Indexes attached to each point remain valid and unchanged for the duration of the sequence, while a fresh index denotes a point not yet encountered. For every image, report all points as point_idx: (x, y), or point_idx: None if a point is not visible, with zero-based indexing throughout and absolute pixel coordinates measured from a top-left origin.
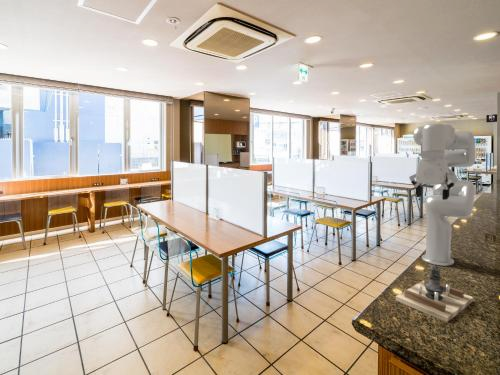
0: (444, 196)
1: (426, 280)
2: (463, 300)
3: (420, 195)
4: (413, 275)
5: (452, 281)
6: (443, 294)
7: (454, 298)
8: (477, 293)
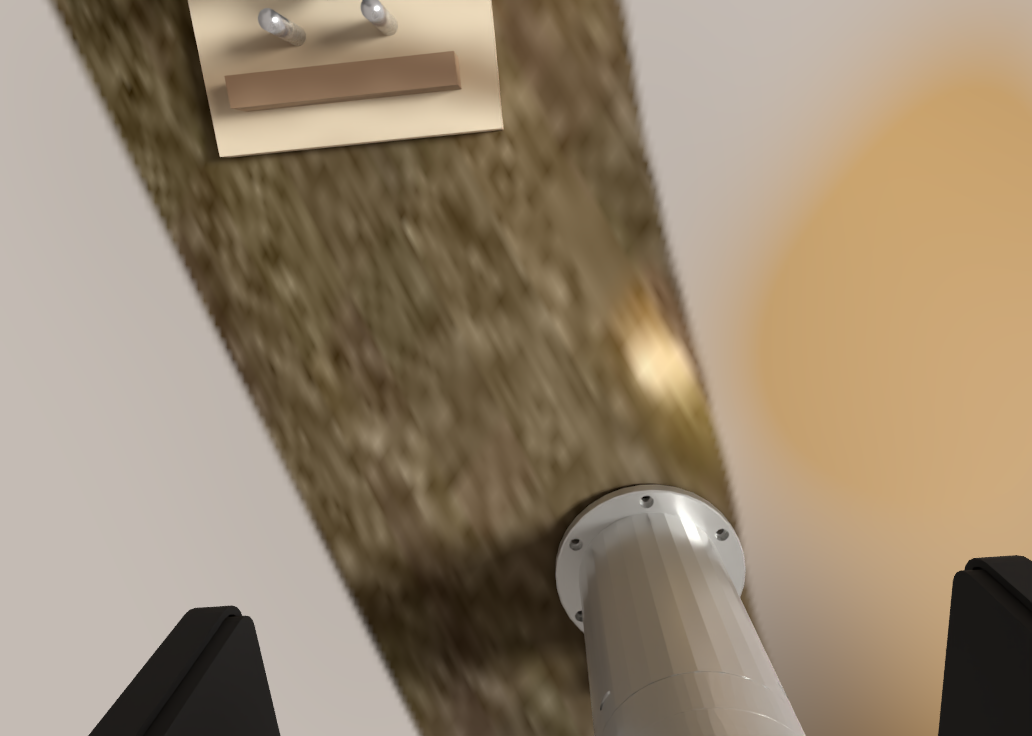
0: (144, 671)
1: (442, 58)
2: (218, 57)
3: (959, 716)
4: (614, 205)
5: (428, 326)
6: (318, 30)
7: (257, 37)
8: (273, 282)
